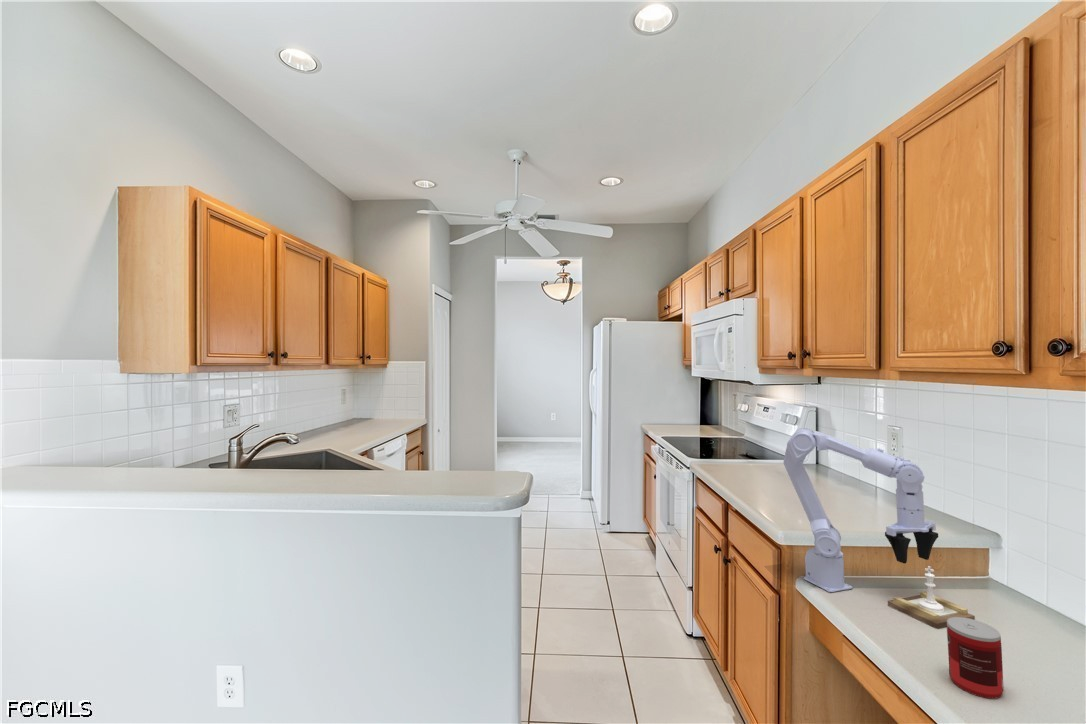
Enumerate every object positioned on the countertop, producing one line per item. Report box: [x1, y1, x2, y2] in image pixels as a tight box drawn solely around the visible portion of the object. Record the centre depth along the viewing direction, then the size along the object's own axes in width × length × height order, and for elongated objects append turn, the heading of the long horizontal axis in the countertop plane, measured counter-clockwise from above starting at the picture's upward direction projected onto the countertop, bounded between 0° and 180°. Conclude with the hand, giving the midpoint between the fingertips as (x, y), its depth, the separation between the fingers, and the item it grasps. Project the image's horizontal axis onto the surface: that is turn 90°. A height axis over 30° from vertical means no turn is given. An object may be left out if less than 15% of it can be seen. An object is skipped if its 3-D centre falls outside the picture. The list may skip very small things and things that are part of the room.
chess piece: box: [919, 565, 944, 612], centre depth 118 cm, size 5×5×10 cm
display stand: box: [887, 591, 976, 630], centre depth 119 cm, size 12×12×2 cm
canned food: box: [946, 617, 1005, 699], centre depth 91 cm, size 8×8×11 cm
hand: (912, 560), depth 125 cm, fingers open, 7 cm apart
